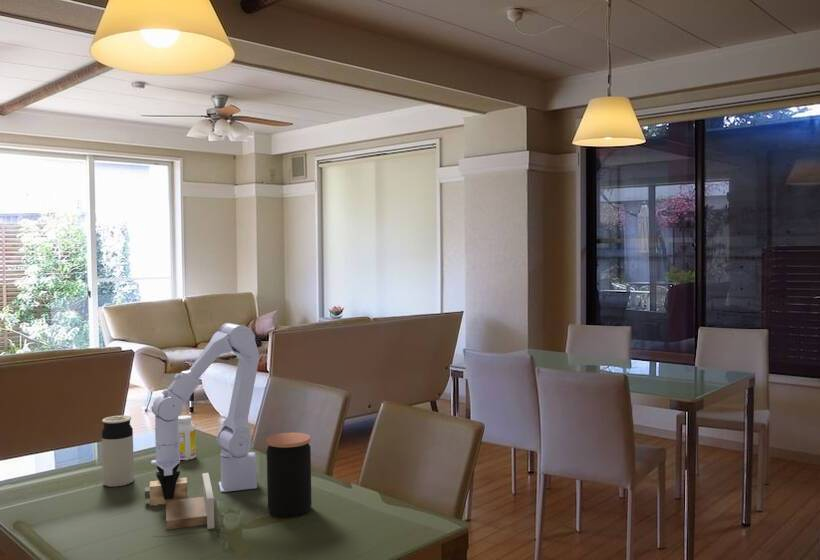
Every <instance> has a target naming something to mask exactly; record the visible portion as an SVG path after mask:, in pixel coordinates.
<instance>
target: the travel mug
mask: <svg viewBox="0 0 820 560" xmlns="http://www.w3.org/2000/svg"><path fill="white" fill-rule="evenodd" d="M131 420H132V417H131V415H130V416H129V415H113V416H107V417H104V418H103V419H102V420H101V421H102V423H103V428H102V430H101V456H102V457H101V460H102V465H101V466H102V484H103V485H104V486H106V487H108V488H109V487H110V488H117V487H118V486H119V487H123V486H127V484H128V485H129V484H131V483H133V482H134V481H135V467H134V466H135V465H134V464H135V463H134V435H133V434H134V431H133V427H132V425H131Z"/></svg>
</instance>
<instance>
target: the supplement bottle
mask: <svg viewBox="0 0 820 560" xmlns="http://www.w3.org/2000/svg"><path fill="white" fill-rule="evenodd" d="M192 419H193V418H192V416H191V415H179V416H178V424H179V456H180V460H185V461H189V459H191V460H193V459H195V458H196V457H197V456H196V455H197V443H196V442H197V440H196V439H197V437H196V425H195V424H193V423H192Z"/></svg>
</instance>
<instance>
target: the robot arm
mask: <svg viewBox="0 0 820 560" xmlns="http://www.w3.org/2000/svg"><path fill="white" fill-rule="evenodd" d="M231 352H232V353H233V354H234V355H235V356H236V358H237V360H238V361H237V367H236V368H237V369H236V372H235V373H236V374H235V378H234V382H233V383H234V384H233V387H232V388H233V389H232V392H231V393H232V394H231V399H230V403H229V409H228V415H227V417H226V418H225V420H224V421H223V422H222V427H221V429H220V430H219V432H218V433H217V435H216V442H217V445H218V447H220V449H221V450H220V481H218V486H219V490H220V493H227V492H233V491H234V492H235V491H244V490H252V489H253V490H254V489H257V488H258V473H257V456H256V455H257V454H256V452H253V451H250V449H251V446H252V439H251V427H250V423H249V415H250V410H251V409H250V408H251V404H252V399H253V393H254V387H255V383H256V378H257V372H258V368H259V367H258V366H259V361H260V352H259V349H258V346H257V343H256V334H255V333H254V332H253V331H252V330H251V329H250V328H249V327H248V326H246V325H243V324H237V323H236V324H235V323H232V322H226V323H224V324H222V325H221V326H220V327H219V329H218V331H216V332H214V333H213V336H212V337H211V339H210V341H209V342H208V343H207V344H206V346H205V348H204V349H203V350H202V351H201V352H200V354H199V355H198V357H197V358H196V359H195V360H194V362H193V363H192V365H191V367H189V369H187V370H183V371H180V373H176V374H175V375H174V376H173V378H174V379H173V381H172V383H171V384H170V385H169V386H168V387H167V388H166V390H165V389H164V390H163V391H162V392H161V393H162V394H161V395H160V396H157V397H156V398H155V399H154V401H153V402H152V403H153V404H152V405H151V408H150V409H151V412H152V413H153V414H154V417H155V420H154V422H155V424H154V425H155V426H154V429H155V432H154V434H155V435H154V436H155V438H154V439H155V459H152V460H151V461H150V462H151V463H150V464H151V466H156V469H157V470H158V471H157V472H156V475H155V476H156V478H157V481H160V484H161V487H162V491H163V496H164V499H165V500H169V499H173V498H174V493H175V486H176V482H177V479H178V478H180V474H181V471H180V470H178V468H179V466H180V463H181V461H180V456H179V424H178V416H181V414H182V412H183V405H184V404H185V403H186V402H187V401H188V399H190V397H191V396H192V395H193V393H194V392H195V391H196V390H197V388H198V387H199V386H200V378H201V376H202V375H203V374H204V373H205V372H206V371H207V370H208V369H209V368H210V366H211V365H212V364H213V363H214V361H215V360H216V359H217V358H218V357H219V356H220V355H222V354H228V353H231ZM249 451H250V452H249Z"/></svg>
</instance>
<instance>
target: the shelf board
mask: <svg viewBox="0 0 820 560" xmlns="http://www.w3.org/2000/svg"><path fill="white" fill-rule="evenodd" d="M209 473H210V472H203V473H201V475H202V476H201V477H202V497H204V502H205V508H206V514H207V524H206V526H207V530H210V529H211V530H212V529H215V498H214V492H213V488H212V483H211V479H210V474H209Z"/></svg>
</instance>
